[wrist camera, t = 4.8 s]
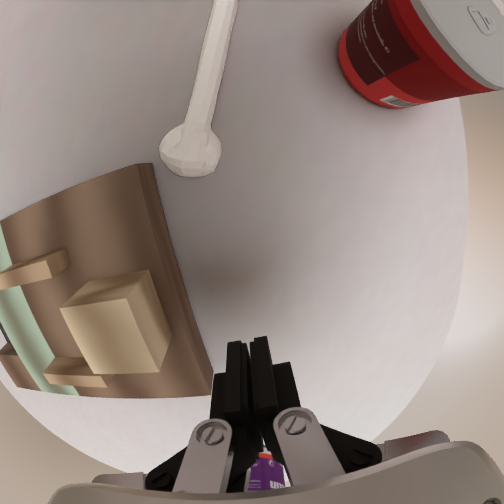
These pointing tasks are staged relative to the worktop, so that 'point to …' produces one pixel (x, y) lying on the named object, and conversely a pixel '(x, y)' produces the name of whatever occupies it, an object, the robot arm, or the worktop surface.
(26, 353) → the wooden block puzzle
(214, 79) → the white knobbed rod
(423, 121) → the worktop surface
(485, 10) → the canned food
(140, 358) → the block
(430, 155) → the worktop surface
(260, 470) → the pill bottle
